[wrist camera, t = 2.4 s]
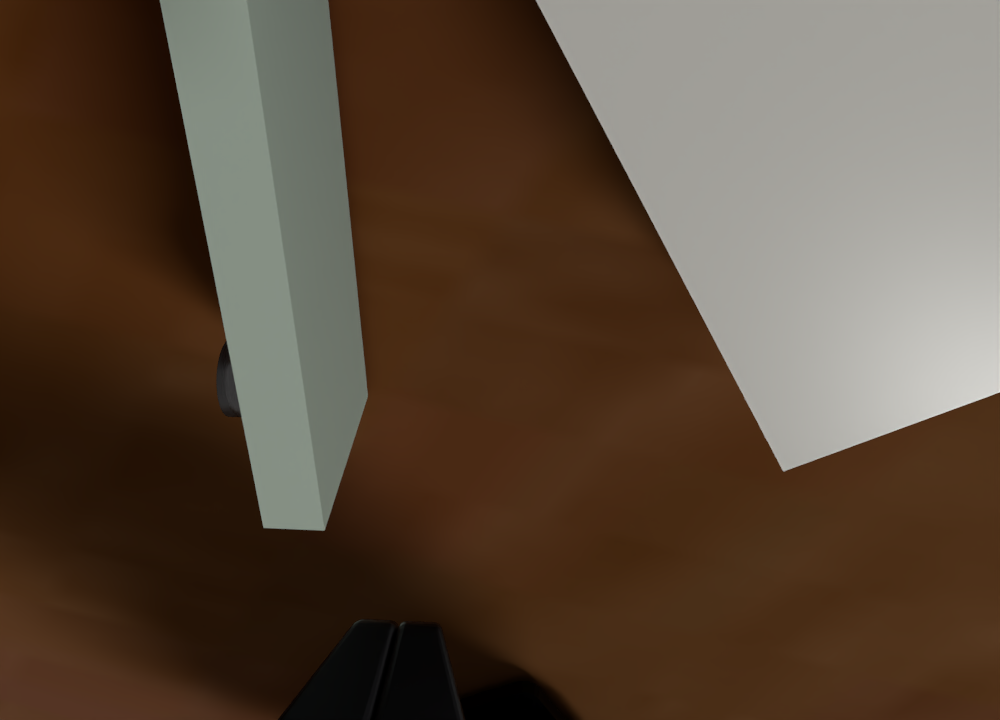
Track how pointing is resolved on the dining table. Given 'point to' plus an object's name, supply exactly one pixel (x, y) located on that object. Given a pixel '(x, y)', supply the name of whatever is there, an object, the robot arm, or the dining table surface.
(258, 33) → the door
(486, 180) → the dining table surface
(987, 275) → the case
